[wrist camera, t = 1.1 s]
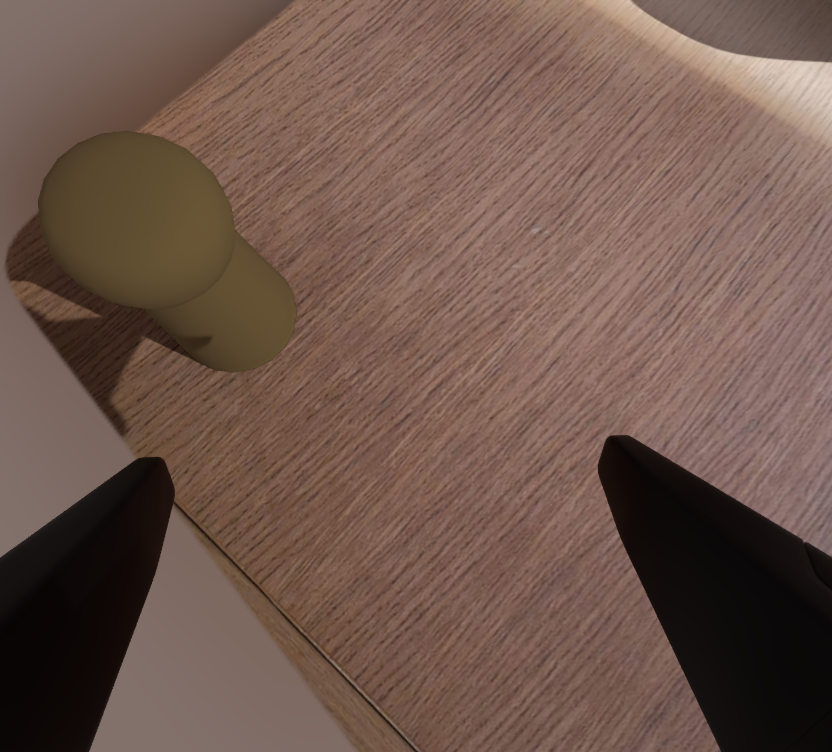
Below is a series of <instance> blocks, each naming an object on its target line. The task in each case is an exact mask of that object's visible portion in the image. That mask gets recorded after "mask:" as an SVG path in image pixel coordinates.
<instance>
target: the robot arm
mask: <svg viewBox="0 0 832 752" xmlns="http://www.w3.org/2000/svg"><path fill="white" fill-rule="evenodd" d="M598 474H599V478H600V481H601V483H602V486H603V489H604V492H605V495H606V498H607V501H608V504H609V506H610V509H611V512H612V515H613V518H614V521H615V524H616V527H617V530H618V532H619V535H620V537H621V540H622V542H623V544H624V547H625V549H626V551H627V553H628V555H629V558H630V560H631V562H632V564H633V566H634V568H635V570H636V572H637V574H638V577H639V579H640V581H641V583H642V585H643V587H644V589H645V591H646V594H647V596H648V598H649V600H650V602H651V604H652V606H653V608H654V610H655V613H656V615H657V617H658V619H659V621H660V623H661V625H662V627H663V629H664V632H665V634H666V636H667V638H668V640H669V642H670V644H671V646H672V648H673V651H674V653H675V655H676V657H677V659H678V661H679V663H680V665H681V668H682V670H683V672H684V674H685V676H686V678H687V680H688V682H689V684H690V687H691V689H692V691H693V693H694V695H695V697H696V699H697V701H698V703H699V706H700V708H701V710H702V712H703V714H704V716H705V718H706V720H707V723H708V725H709V727H710V729H711V731H712V733H713V735H714V737H715V739H716V742H717V744H718V746H719V748H720V750H721V752H832V557H831V556H829V555H827V554H826V553H824V552H822V551H821V550H819V549H817V548H816V547H814V546H812V545H811V544H809V543H807V542H805V543H803V540H802V539H801V538H799V537H797V536H796V535H794V534H792V533H791V532H789V531H787V530H786V529H784V528H782V527H781V526H779V525H777V524H776V523H774V522H772V521H771V520H769V519H767V518H766V517H764V516H762V515H761V514H759V513H757V512H756V511H754V510H752V509H751V508H749V507H747V506H746V505H744V504H742V503H741V502H739V501H737V500H736V499H734V498H732V497H731V496H729V495H727V494H726V493H724V492H722V491H721V490H719V489H717V488H716V487H714V486H712V485H711V484H709V483H707V482H706V481H704V480H702V479H701V478H699V477H697V476H696V475H694V474H692V473H691V472H689V471H687V470H686V469H684V468H682V467H681V466H679V465H677V464H676V463H674V462H672V461H671V460H669V459H667V458H666V457H664V456H662V455H661V454H659V453H657V452H656V451H654V450H652V449H651V448H649V447H647V446H646V445H644V444H642V443H641V442H639V441H637V440H636V439H634V438H632V437H631V436H628V435H613V436H609V437H608V438H607V439H606V441H605V444H604V447H603V450H602V453H601V456H600V460H599V463H598ZM174 497H175V489H174V485H173V482H172V479H171V476H170V474H169V471H168V468H167V466H166V463H165V461H164V460H163V459H162V458H161V457H143V458H138V459H137V460H135V461H133V462H132V463H131V464H129V465H128V466H127V467H125V468H124V469H122V470H121V471H120V472H118V473H117V474H116V475H114V476H113V477H111V478H110V479H109V480H107V481H106V482H104V483H103V484H102V485H101V486H99V487H97V488H96V489H95V490H94V491H92V492H91V493H89V494H88V495H86V496H85V497H84V498H82V499H81V500H79V501H78V502H77V503H75V504H74V505H73V506H71V507H70V508H68V509H67V510H66V511H64V512H63V513H62V514H60V515H59V516H57V517H56V518H55V519H53V520H52V521H51V522H49V523H48V524H46V525H45V526H43V527H42V528H41V529H39V530H38V531H37V532H35V533H34V534H32V535H31V536H30V537H28V538H27V539H26V540H24V541H23V542H21V543H20V544H19V545H17V546H16V547H14V548H13V549H12V550H10V551H9V552H7V553H6V554H5V555H3V556H2V557H1V558H0V752H89V750H90V748H91V745H92V742H93V740H94V737H95V734H96V732H97V729H98V726H99V724H100V721H101V718H102V716H103V713H104V710H105V708H106V705H107V702H108V700H109V697H110V694H111V692H112V689H113V686H114V683H115V681H116V678H117V676H118V673H119V670H120V667H121V665H122V662H123V659H124V657H125V654H126V651H127V649H128V646H129V643H130V641H131V638H132V635H133V633H134V630H135V627H136V624H137V622H138V619H139V616H140V614H141V611H142V608H143V606H144V603H145V600H146V597H147V595H148V592H149V589H150V587H151V584H152V581H153V578H154V576H155V572H156V569H157V566H158V562H159V558H160V554H161V550H162V546H163V542H164V538H165V534H166V530H167V526H168V522H169V518H170V514H171V510H172V506H173V502H174Z"/></svg>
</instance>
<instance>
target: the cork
mask: <svg viewBox="0 0 832 752" xmlns="http://www.w3.org/2000/svg"><path fill="white" fill-rule="evenodd" d="M38 207H39V219H40V228H41V234H42V237H43V239H44V241H45V243H46V245H47V247H48V249H49V251H50V253H51V255H52V257H53V259H54V260H55V261H56V262H57V264H58V265H59V266H60V267H61V268H62V269H63V270H64V271H65V272H66V273H67V274H68V275H69V276H70V277H71V278H72V279H73V280H74V281H75V282H76V283H77V284H78V285H80V286H81V287H82V288H84V289H86V290H88V291H89V292H91V293H93V294H95V295H98V296H100V297H102V298H104V299H106V300H108V301H110V302H113V303H115V304H117V305H122V306H129V307H137V308H143V309H144V310H145V311H146V312H147V313H148V314H149V315H150V316H151V317H152V318H153V319H154V320H155V321H156V322H157V323H158V324H159V325H160V326H161V327H162V328H163V329H164V330H165V331H166V332H167V333H168V334H169V335H170V336H171V337H172V338H173V339H174V340H175V341H176V342H177V343H178V344H179V345H180V346H181V347H182V348H183V349H185V350H186V351H187V352H188V353H189V354H190V355H191V356H192V357H193V358H194V359H195V360H196V361H197V362H199V363H201V364H203V365H205V366H207V367H210V368H212V369H214V370H219V371H227V372H240V371H246V370H251V369H255V368H257V367H259V366H261V365H263V364H265V363H267V362H269V361H271V360H272V359H273V358H274V357H275V356H276V355H277V354H278V353H279V352H280V351H281V350H282V349H283V348H284V347H285V346H286V344H287V342H288V340H289V339H290V337H291V335H292V333H293V331H294V327H295V321H296V315H297V310H296V304H295V298H294V294H293V292H292V290H291V289H290V287H289V285H288V283H287V281H286V279H285V278H284V277H283V276H282V275H281V274H280V273H279V272H277V271H276V270H275V269H274V268H273V267H272V266H271V265H270V264H269V263H268V262H267V261H266V260H265V259H264V258H263V257H262V256H261V255H260V254H259V253H258V252H257V251H256V250H255V249H254V248H253V247H252V246H251V245H250V244H249V243H248V242H247V241H246V240H245V239H244V238H243V237H242V236H241V235H240V234H239V233H237V232H236V231H235V226H234V220H233V213H232V207H231V204H230V202H229V200H228V198H227V197H226V195H225V193H224V191H223V189H222V187H221V186H220V184H219V182H218V180H217V178H216V177H215V175H214V173H213V172H211V171H210V170H209V169H208V168H207V167H206V166H205V165H204V164H203V163H202V162H201V161H200V160H198V159H197V158H196V157H195V156H194V155H193V154H192V153H190V152H189V151H188V150H187V149H186V148H184V147H182V146H179V145H177V144H175V143H173V142H171V141H169V140H167V139H164V138H162V137H159V136H154V135H150V134H144V133H137V132H130V131H121V132H112V133H104V134H100V135H97V136H94V137H92V138H90V139H87V140H85V141H82V142H80V143H78V144H76V145H75V146H74V147H72V148H71V149H70V150H69V151H67V152H66V153H65V154H63V155H62V156H61V157H60V158H58V159H57V161H56V162H55V164H54V165H53V167H52V168H51V170H50V171H49V173H48V174H47V176H46V177H45V178H44V181H43V185H42V189H41V192H40V196H39V199H38Z"/></svg>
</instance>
